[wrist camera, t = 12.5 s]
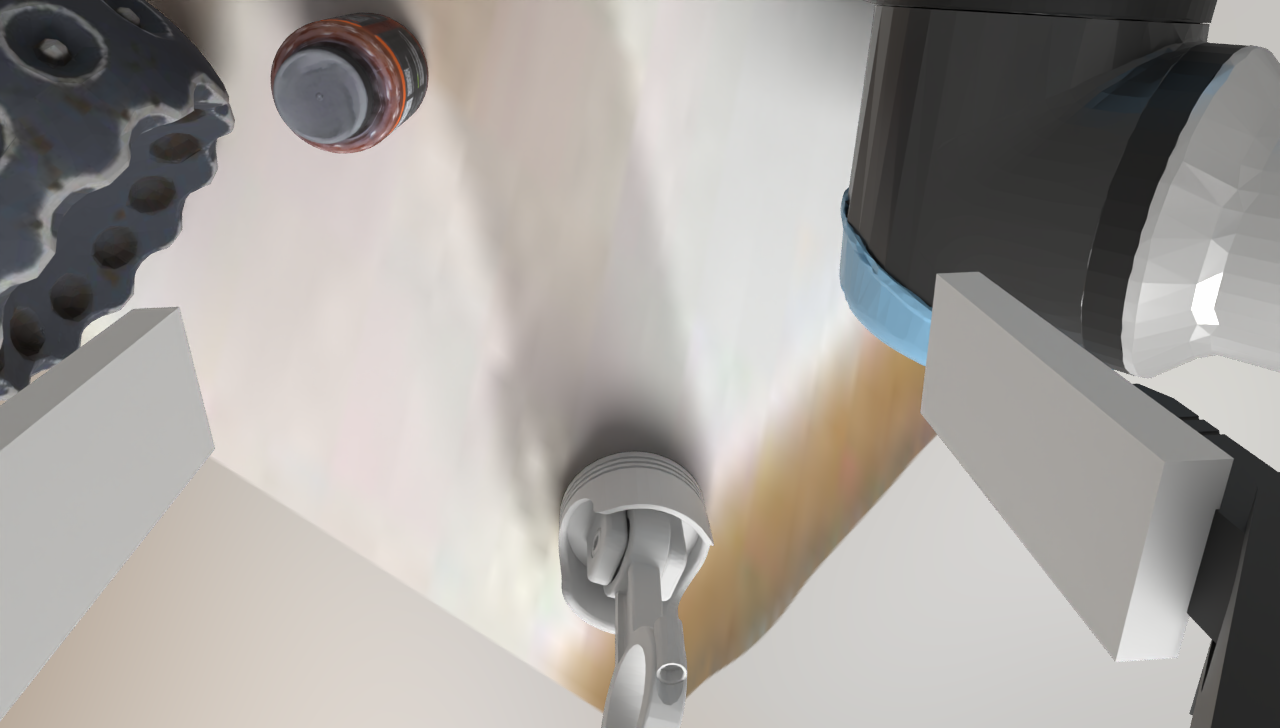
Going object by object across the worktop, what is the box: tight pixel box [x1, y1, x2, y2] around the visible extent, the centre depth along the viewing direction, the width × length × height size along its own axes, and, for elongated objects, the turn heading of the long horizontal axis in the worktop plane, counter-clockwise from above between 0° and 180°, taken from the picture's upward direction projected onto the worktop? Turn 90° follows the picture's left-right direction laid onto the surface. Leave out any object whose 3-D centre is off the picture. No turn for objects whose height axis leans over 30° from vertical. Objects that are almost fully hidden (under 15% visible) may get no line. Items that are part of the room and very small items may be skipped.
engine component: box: [559, 451, 714, 728], centre depth 51 cm, size 11×20×10 cm
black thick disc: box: [0, 0, 235, 401], centre depth 39 cm, size 11×20×20 cm, turn 142°
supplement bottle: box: [271, 13, 428, 153], centre depth 43 cm, size 6×6×11 cm
